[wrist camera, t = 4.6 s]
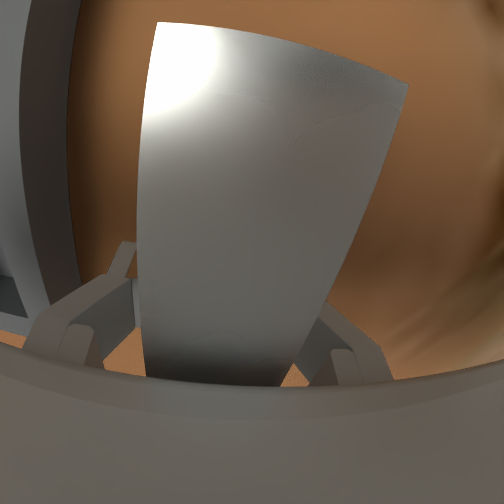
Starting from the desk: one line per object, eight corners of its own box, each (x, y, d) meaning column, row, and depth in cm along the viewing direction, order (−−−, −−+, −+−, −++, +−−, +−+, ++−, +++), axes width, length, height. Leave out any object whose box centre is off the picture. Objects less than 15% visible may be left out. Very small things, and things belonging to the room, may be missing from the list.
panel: (284, 67, 8) (409, 85, 2) (222, 332, 15) (227, 469, 9) (207, 52, 8) (157, 22, 2) (174, 327, 14) (162, 465, 9)
